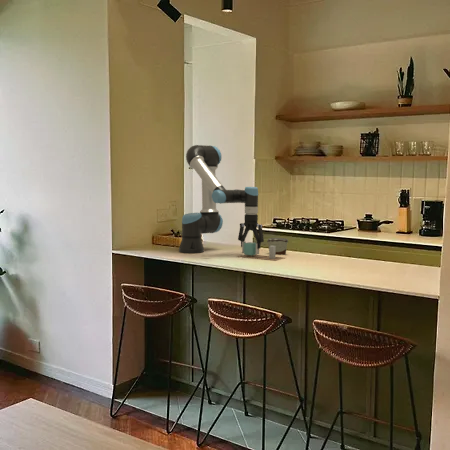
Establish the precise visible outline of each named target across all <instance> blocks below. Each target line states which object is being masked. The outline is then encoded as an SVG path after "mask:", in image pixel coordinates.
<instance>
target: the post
mask: <svg viewBox="0 0 450 450" xmlns="http://www.w3.org/2000/svg"><path fill="white" fill-rule="evenodd" d="M275 251H276V246H269V245H268V256H269V259H275V257H276V255H275Z"/></svg>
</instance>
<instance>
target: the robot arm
mask: <svg viewBox="0 0 450 450" xmlns="http://www.w3.org/2000/svg"><path fill="white" fill-rule="evenodd" d="M185 158H186V159H185V160H186V163H187V164H188V166H189V167H190V168H191V169H192V170H194V171H195V172H196V174H197V175H198V176H199V178H201V204H202V205H201V206H202V209H201V210H200V212H189V213H185V214H183V216H182V217H181V242H180V244H179V247H178V252H179V253H184V254H200V253H204V252H205V247H204V244H203V241H202V235H203V234H214V233H218V232H219V231H220V230H221V229H222V228H223V224H224V223H223V222H224V221H223V217H222V215H221V214H219V210H218V209H217V204H244V223H243V222H242V223H239V231H238V236H237V240H238V241H240V247H241V254H244V243H247V242H246V238H247V236H248V233H249V232H250V231H252V233H253V235H254V237H255V240H256V242H255V243H256V255H260V249H261V248H262V247H261V243H264V239H265V238H264V232H263V224H262V223H261V224H259V223H258V219H259V217H258V216H259V215H258V213H259V188H258V187H257V186H245V188H244V190H243V189H226V188H225V187H224V185H223V184H222V182H221V181H220V179H218V177H217V176H216V170H217V169H218V167H219V164H221V162H222V153H221V151H220V149H219V148H218V146H216V145H202V144H200V145H199V144H194V145H192V146H190V147H189V148H188V149H187V151H186V154H185Z"/></svg>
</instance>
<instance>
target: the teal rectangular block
mask: <svg viewBox="0 0 450 450" xmlns="http://www.w3.org/2000/svg"><path fill="white" fill-rule="evenodd" d="M256 243H257V242H253V241H250V242H249V241H248V242H246V243H244V253H243V255H256Z"/></svg>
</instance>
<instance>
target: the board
mask: <svg viewBox="0 0 450 450" xmlns="http://www.w3.org/2000/svg"><path fill="white" fill-rule="evenodd" d="M236 258H242V259H243V258H244V259H252V260H262V261H272V262H276V261H281V260H284V259H286V257H282V256H275V259H269V255H263V254H257V255H254V256H252V257H250V256H247V255H244V254H242V255H239V256H236Z"/></svg>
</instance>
